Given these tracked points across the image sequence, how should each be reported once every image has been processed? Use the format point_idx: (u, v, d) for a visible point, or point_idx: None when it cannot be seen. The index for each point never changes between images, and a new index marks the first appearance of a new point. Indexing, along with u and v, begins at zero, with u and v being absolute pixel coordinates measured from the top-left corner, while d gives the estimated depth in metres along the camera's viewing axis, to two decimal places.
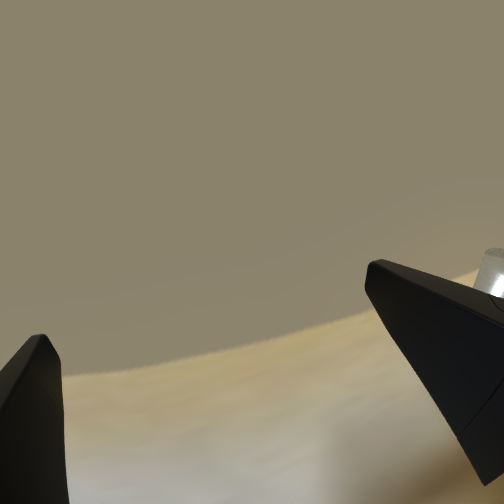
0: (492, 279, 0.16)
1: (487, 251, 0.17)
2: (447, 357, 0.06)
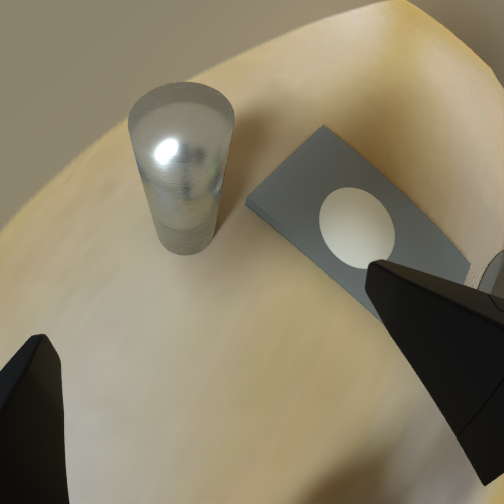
0: (140, 156, 0.11)
1: (143, 99, 0.12)
2: (447, 357, 0.06)
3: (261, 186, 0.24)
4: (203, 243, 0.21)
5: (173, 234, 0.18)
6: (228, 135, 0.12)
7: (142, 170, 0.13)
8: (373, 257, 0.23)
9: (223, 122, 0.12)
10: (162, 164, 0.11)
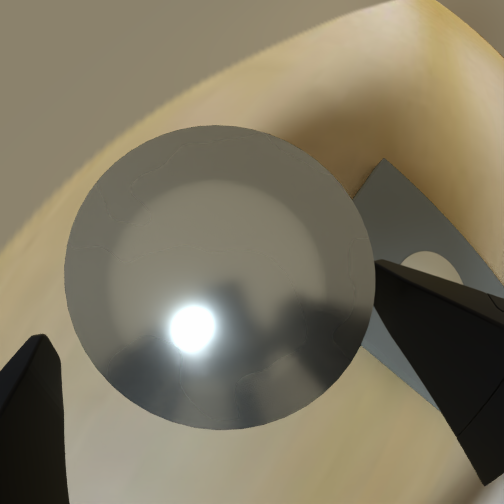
0: None
1: (102, 187, 0.04)
2: (447, 357, 0.06)
3: None
4: None
5: None
6: (366, 324, 0.04)
7: None
8: None
9: (350, 279, 0.04)
10: (188, 416, 0.04)
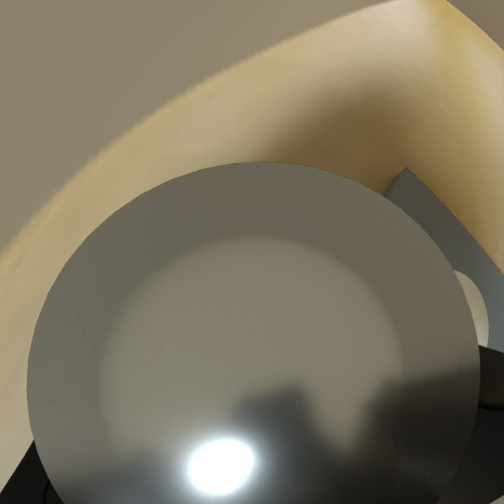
0: None
1: (69, 286, 0.02)
2: None
3: None
4: None
5: None
6: (461, 453, 0.02)
7: None
8: None
9: (455, 406, 0.02)
10: None
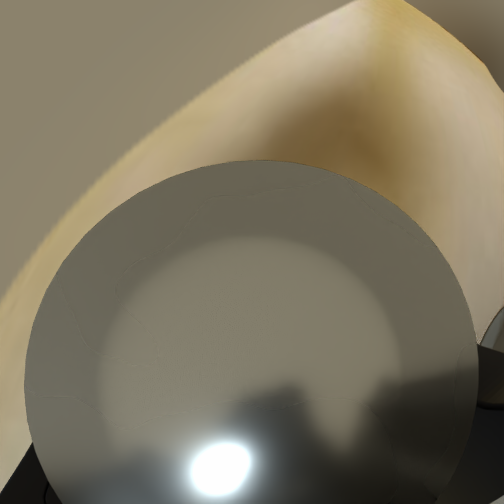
0: None
1: (66, 284, 0.02)
2: None
3: None
4: None
5: None
6: (460, 453, 0.02)
7: None
8: None
9: (453, 406, 0.02)
10: None
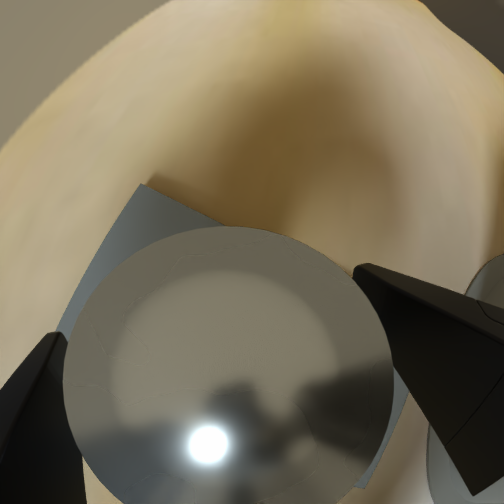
0: None
1: (90, 313, 0.03)
2: (433, 366, 0.06)
3: None
4: None
5: None
6: (378, 444, 0.03)
7: None
8: None
9: (367, 406, 0.04)
10: None
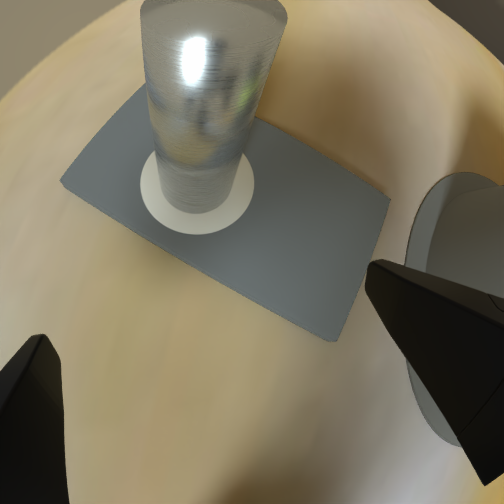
0: (153, 48, 0.07)
1: None
2: (447, 357, 0.06)
3: (74, 163, 0.17)
4: (218, 198, 0.17)
5: (183, 181, 0.14)
6: (281, 30, 0.07)
7: (152, 75, 0.08)
8: (220, 216, 0.18)
9: (273, 17, 0.07)
10: (185, 55, 0.07)
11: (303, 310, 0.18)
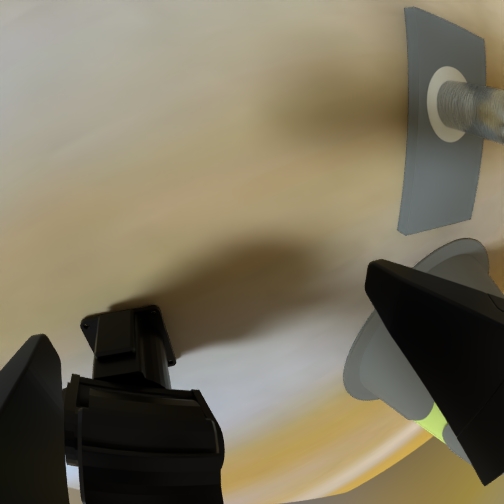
0: None
1: None
2: (447, 357, 0.06)
3: (426, 13, 0.16)
4: (456, 128, 0.20)
5: (473, 115, 0.17)
6: None
7: None
8: (441, 130, 0.21)
9: None
10: None
11: (415, 206, 0.24)
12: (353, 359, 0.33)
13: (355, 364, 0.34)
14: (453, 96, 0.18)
